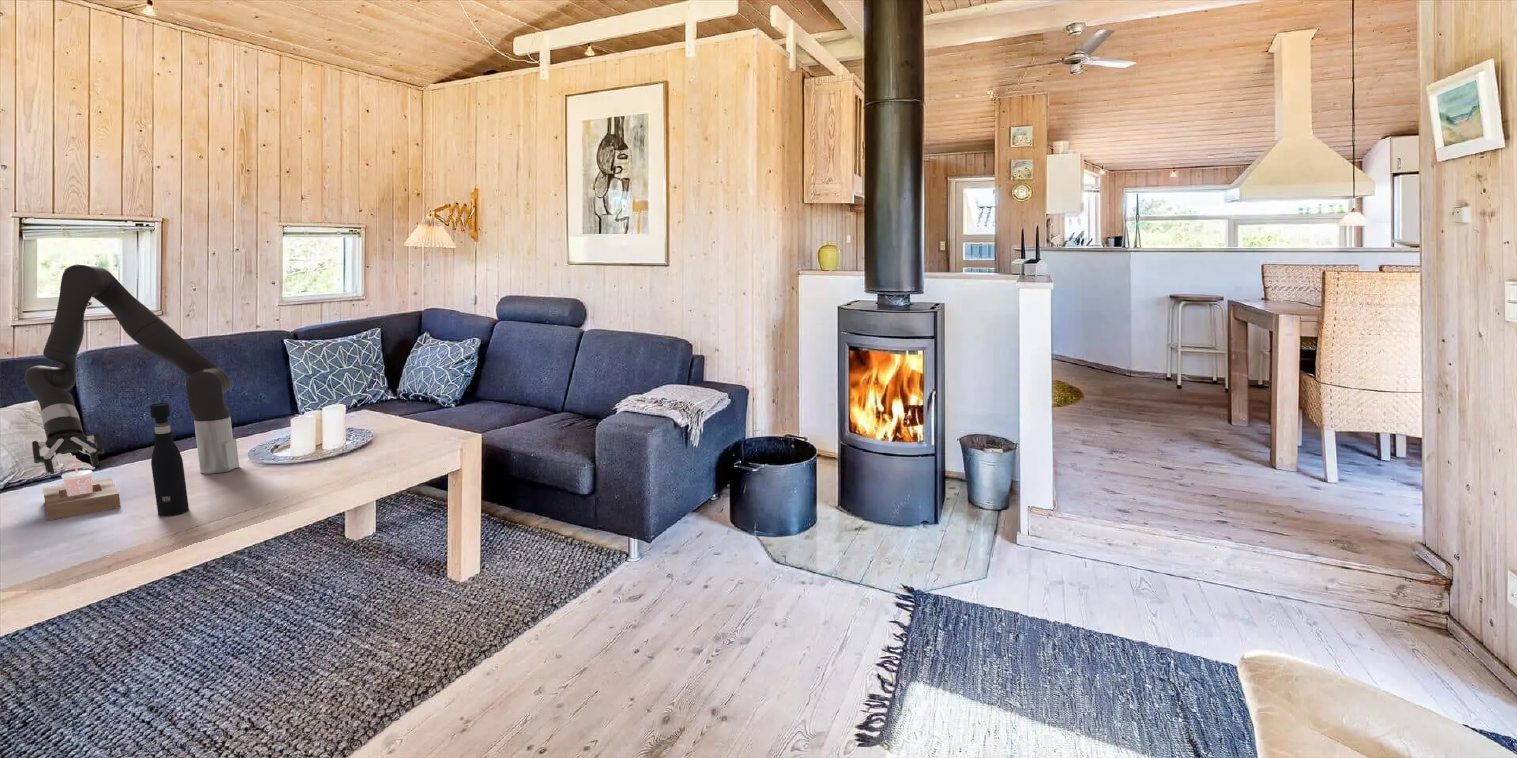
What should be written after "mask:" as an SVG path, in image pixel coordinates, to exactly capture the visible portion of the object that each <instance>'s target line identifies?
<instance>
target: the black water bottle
mask: <svg viewBox="0 0 1517 758" xmlns="http://www.w3.org/2000/svg"><path fill="white" fill-rule="evenodd" d="M149 409H150V417H151V418H153V419H154V422H155V426H154V432H155V433H153V438H154V447H153V448H152V449H153V450H152V453H151V458H150V459H151V460H150V466H151V472H152V480H153V487H154V488H153V489H154V494H155V502H156V509H157V515H158V516H159V517H163V518H164V517H166V518H167V517H175V516H178V515H183V514H185V513H187V512H189V511H190V507H189V506H190V505H189V498H188V491H187V490H188V489H187V483H186V475H185V468H184V460H183V457H182V454H181V452H180V450H179V448H178V447H177V445H176V443H175V441H174V433H173V431H171V430H172V427H171V425H170V424H169V421H168V420H169V419H168V417H170V416H171V409H170V403H169V402H160V403H159V402H158V403H153V404H150V405H149Z"/></svg>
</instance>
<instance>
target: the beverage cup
mask: <svg viewBox="0 0 1517 758" xmlns="http://www.w3.org/2000/svg"><path fill="white" fill-rule="evenodd" d="M72 459H73V464H74V469H75V470H74V471H70V472H65V473H63V474H61V479H62V480H63V482H64V485H65V487H66V491H67V495H68V496H74V495H80V494H86V493H92V492H93V489H92V480H93V476H92V475H93V474H94V473H93V470H91V469H90V470H89V469H87V470H86V469H81V470H78V463H77V458H76V455H73V456H72Z"/></svg>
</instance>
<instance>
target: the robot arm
mask: <svg viewBox="0 0 1517 758" xmlns="http://www.w3.org/2000/svg"><path fill="white" fill-rule="evenodd" d="M60 280H61V281H60V289H59V296H58V302H57V307H56V313H55V316H54V320H53V323H52V326H51V328H50V329H51V330H50V333H49V335H48V337H47V341H46V343H45V346H44V348H43V352H42V355H43V357H45V358H46V359H49V360H51V361H54V362H57V363H59V364H60V365H59V367H53V366H46V365H35V366H32V367H29V368H27V370H26V371H25V373H24V383H25V385H26V387H27V389H28V390H29V392H30V393H31V394H32V396H33V397H34V398H35V399H36V400H37V402H38V403H39V407H40V411H41V420H42V426H43V429H44V432H45V436H46V437H45V438H46V441H40V442H39V441H38V440H33V441H32V442H31V447H32V456H33V463H34V464H39V463H40V464H43V465H44V467H45V472H46V473H47V474H48V473H49V474H50V475H52V474H53V475H54V474H55V469H54V465H53V460H54V459H55V458H56V457H58V455H59V454H60V455H67V454H73V453H74V454H76V453H78V452H81V453H82V454H84V455H88V456H89V460H90V464H91V466H92V468H96V467H97V466H98V465H99V463H100V462H99V458H98V455H103V454H104V453H105V446H104V443H103V440H102V437H101V435H100V433H98V432H96V433H95V432H94V433H93V435H89V436H86V435H85V434H84V430H83V426H82V422H81V419H80V415H79V412H78V411H77V408H76V405H75V401H74V398H73V395H72V394H71V393H70V390H72V389H73V388H74V386H75V384H76V382H77V374H76V363H77V356H78V353H79V350H80V347H81V345H82V343H83V339H84V335H85V326H84V323H85V322H84V321H85V320H84V319H85V313H86V309H87V306H88V304H89V302H90V301H91V299H92V298H94V299H95V300H96V301H98V302H99V303H100V304H102V305H103V306H104V307H105V308H107V309H108V310H109V311H110V312H111V313H112V314H113V316H114V317H115V318H116V320H117V321H118V323H119V324H120V326H121V328H122V329H123V331H124V333H126V334H127V335H128V336H129V337H130V338H131V339H132V340H133V341H134V342H136V343H137V344H138V345H139V346H140V347H142V348H143V349H144V350H146V351H147V352H149V353H150V354H152V355H154V356H156V357H158V358H160V359H162V360H163V361H166V362H168V363H170V364H171V365H173V366H175V367H177V368H178V369H180V370H181V371H182V372H183V373H185V375H187V376H188V377H187V380H186V384H185V390H186V395H187V396H186V397H187V401H188V402H187V403H188V407H189V412H190V413H191V415H192V417H193V423H194V424H193V425H194V430H195V433H194V434H195V440H196V448H197V457H198V463H199V464H198V466H199V471H200V473H201V474H208V475H210V474H218V473H225V472H226V473H229V472H231V471H233V470H235V469H236V468H238V467H240V462H239V452H238V446H237V444H238V443H237V438H233V437H234V436H233V428H232V427H233V426H232V419H231V412H230V408H229V407H228V406H226V404H225V401H224V393H226V392H227V391H228V390H229V389H230V386H231V379H230V377H229V375H228V374H227V372H225V370H223V369H222V368H221V367H219V366H217V364H215V363H214V362H212V361H211V360H209V359H208V358H206V357H205V356H204V355H202V354H201V353H200V352H198V351H197V349H195V348H194V347H193V346H192V345H191V344H190V343H188V341H186V340H185V339H184V338H183V337H182V336H181V335H180V334H179V333H177V331H175V330H174V329H173V328H172V327H171V326H170V325H169V324H167V323H166V322H165V321H164V320H163V319H162V318H160V317H159V316H157V314H155V313H154V312H153V311H152V310H151V309H149V308H148V307H147V306H146V305H145V304H143V302H141V301H140V300H138V299H137V298H135V296H133V294H131V293H130V292H129V291H128V290H127V288H125V287H124V286H123V284H122V283H121V282H120V281H119V280H118V279H117V278H116V277H115V276H114V275H113V274H112V273H111V272H110V271H109V270H108V269H107V268H105V267H103V266H100V265H97V264H89V263H88V264H87V263H85V264H84V263H79V264H73V265H70V266H68V267H66V269H65V270H64V271H63V273H62V275H61V279H60ZM68 391H69V392H68ZM87 442H90V443H92V444H95V447H96V448H93V447H92V446H90V444H88V443H87ZM45 447H46V448H48V449H49V450H48V451H47V453H46V454H45V455H44V456H43V455H41V453H40V451H42V450H43V449H44V448H45Z"/></svg>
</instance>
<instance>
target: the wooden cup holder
mask: <svg viewBox="0 0 1517 758" xmlns="http://www.w3.org/2000/svg"><path fill="white" fill-rule="evenodd" d="M92 489H93V492H92V493H86V494H80V495H74V496H68V495H67V491H66V487H65V484H61V485H60V484H59V485H54V486H48V487H47V486H46V487H42V491H43V492H42V493H43V499H44V504H45V510H46V516H47V521H52V520H58V519H63V518H68V517H74V516H80V515H85V514H91V513H97V512H101V511H108V510H114V509H118V508H121V506H122V505H121V500H120V494H119V491H118V489H117V487H116V484H115V482H114V480H113V478H112V477H111V476H109V477H104V478H97V479H92Z"/></svg>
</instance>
